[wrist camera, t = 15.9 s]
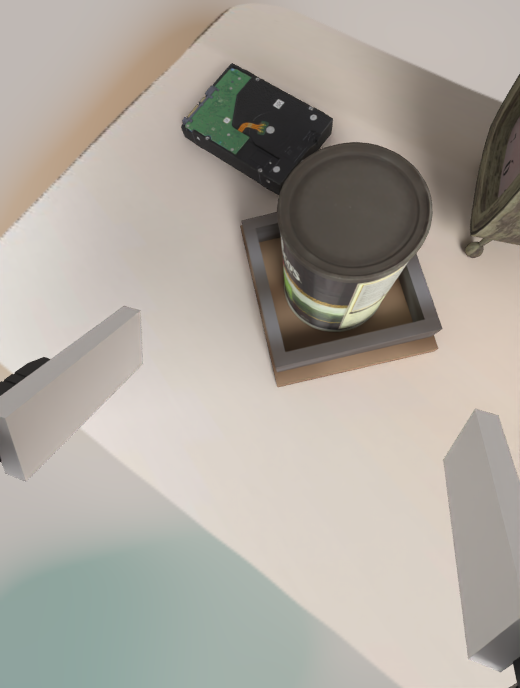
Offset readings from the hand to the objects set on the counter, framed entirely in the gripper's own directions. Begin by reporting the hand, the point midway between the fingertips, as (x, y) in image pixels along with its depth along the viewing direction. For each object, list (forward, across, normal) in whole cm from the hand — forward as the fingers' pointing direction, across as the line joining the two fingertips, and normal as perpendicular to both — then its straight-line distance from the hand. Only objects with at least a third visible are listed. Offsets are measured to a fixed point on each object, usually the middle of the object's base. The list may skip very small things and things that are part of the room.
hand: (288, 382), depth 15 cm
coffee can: (+26, 0, -7) cm, 26 cm away
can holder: (+26, 0, -7) cm, 27 cm away
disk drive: (+38, -14, +4) cm, 41 cm away
